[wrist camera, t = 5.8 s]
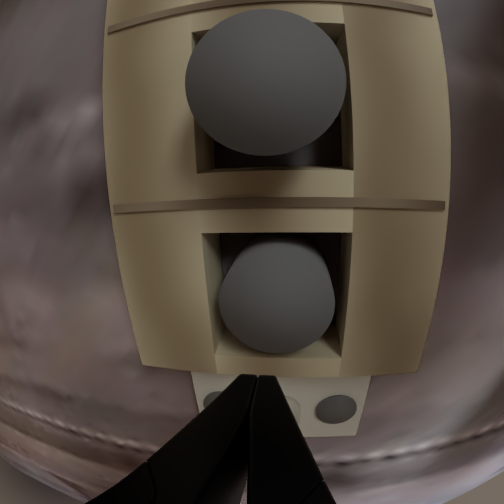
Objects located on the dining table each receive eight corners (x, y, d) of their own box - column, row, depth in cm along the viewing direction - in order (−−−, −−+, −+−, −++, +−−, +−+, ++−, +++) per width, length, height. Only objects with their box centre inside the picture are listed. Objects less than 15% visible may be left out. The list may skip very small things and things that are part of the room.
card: (369, 366, 14) (374, 382, 13) (354, 428, 16) (356, 444, 15) (193, 361, 16) (186, 377, 14) (205, 423, 17) (200, 438, 16)
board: (385, -75, 7) (396, -103, 5) (402, 340, 14) (417, 373, 11) (143, -59, 9) (120, -82, 6) (162, 335, 15) (141, 366, 13)
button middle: (329, 39, 8) (338, 8, 6) (336, 154, 10) (349, 155, 7) (209, 45, 9) (184, 19, 6) (213, 156, 10) (188, 160, 8)
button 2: (330, 230, 12) (338, 250, 10) (325, 318, 13) (330, 353, 11) (229, 230, 13) (213, 250, 10) (235, 317, 14) (223, 351, 12)
